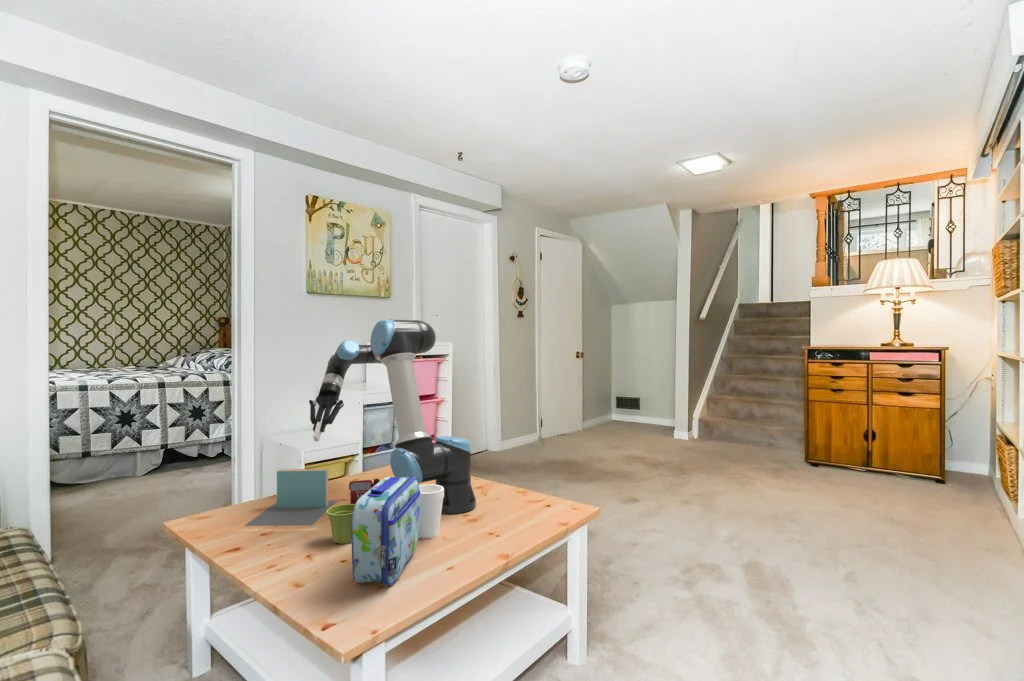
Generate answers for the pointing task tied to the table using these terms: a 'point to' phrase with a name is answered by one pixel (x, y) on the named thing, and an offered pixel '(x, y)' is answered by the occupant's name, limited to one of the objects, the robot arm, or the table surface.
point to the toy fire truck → (360, 489)
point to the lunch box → (385, 529)
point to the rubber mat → (289, 516)
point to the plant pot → (341, 522)
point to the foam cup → (430, 510)
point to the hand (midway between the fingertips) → (315, 439)
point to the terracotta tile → (302, 488)
